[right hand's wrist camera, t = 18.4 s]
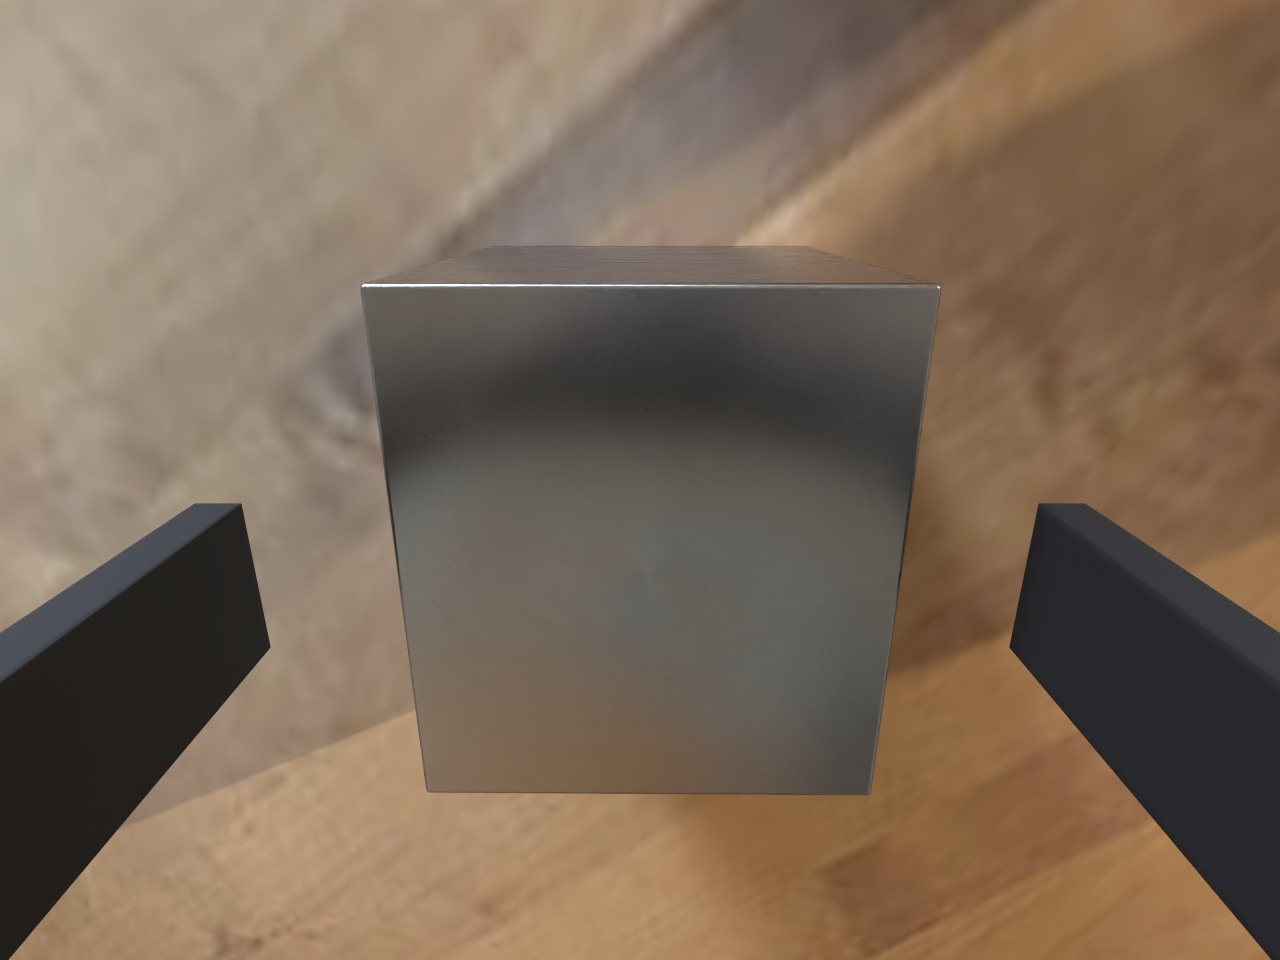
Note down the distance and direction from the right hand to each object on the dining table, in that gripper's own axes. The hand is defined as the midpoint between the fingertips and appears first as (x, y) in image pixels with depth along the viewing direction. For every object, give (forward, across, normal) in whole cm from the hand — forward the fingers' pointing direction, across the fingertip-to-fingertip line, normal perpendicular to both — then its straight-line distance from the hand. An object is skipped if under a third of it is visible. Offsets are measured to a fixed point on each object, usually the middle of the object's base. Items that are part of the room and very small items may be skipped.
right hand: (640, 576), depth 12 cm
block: (+9, 0, 0) cm, 9 cm away
